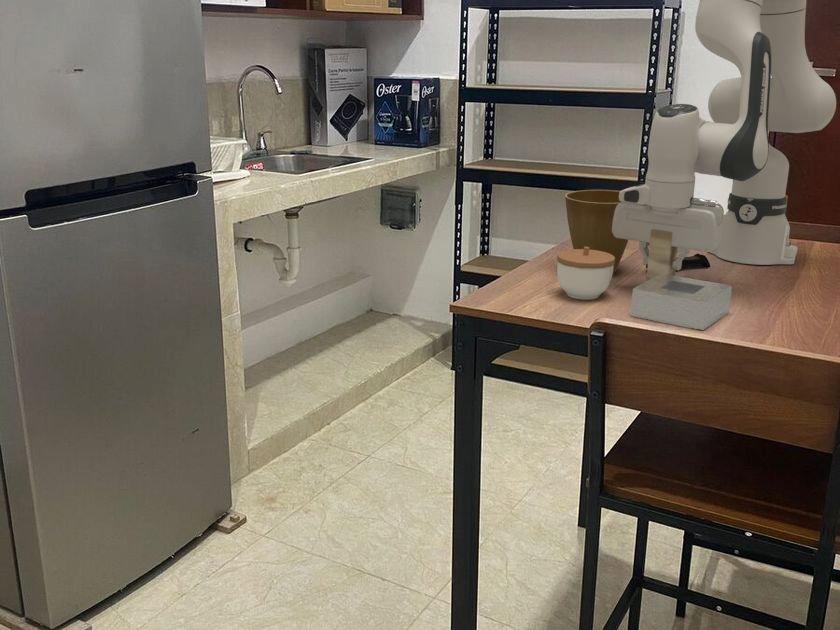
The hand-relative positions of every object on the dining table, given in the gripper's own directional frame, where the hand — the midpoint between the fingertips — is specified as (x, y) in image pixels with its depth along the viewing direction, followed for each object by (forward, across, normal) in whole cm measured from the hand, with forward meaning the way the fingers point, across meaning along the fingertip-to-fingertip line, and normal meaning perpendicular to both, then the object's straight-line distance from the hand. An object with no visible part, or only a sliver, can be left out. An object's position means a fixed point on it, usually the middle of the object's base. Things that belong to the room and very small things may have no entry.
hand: (661, 267), depth 161 cm
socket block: (+5, -8, +10) cm, 14 cm away
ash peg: (+5, 0, 0) cm, 5 cm away
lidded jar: (+5, +11, +10) cm, 16 cm away
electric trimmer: (+6, +4, -20) cm, 21 cm away
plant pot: (+6, +17, -8) cm, 19 cm away
